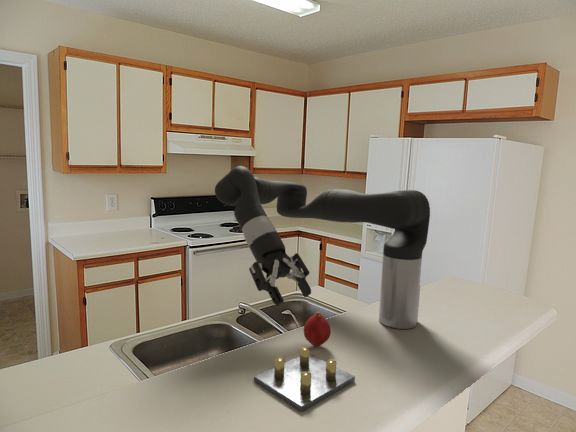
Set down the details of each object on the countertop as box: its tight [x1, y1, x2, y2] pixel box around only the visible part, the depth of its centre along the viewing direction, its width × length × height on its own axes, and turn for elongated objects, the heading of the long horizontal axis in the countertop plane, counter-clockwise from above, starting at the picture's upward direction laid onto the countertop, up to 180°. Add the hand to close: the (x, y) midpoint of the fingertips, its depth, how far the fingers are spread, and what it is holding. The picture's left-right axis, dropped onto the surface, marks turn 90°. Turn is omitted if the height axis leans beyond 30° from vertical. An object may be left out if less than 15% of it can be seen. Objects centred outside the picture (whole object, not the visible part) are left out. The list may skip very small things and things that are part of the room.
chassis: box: [253, 346, 356, 413], centre depth 75 cm, size 14×12×4 cm
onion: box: [303, 311, 332, 348], centre depth 89 cm, size 6×6×8 cm
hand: (294, 299), depth 92 cm, fingers open, 8 cm apart
